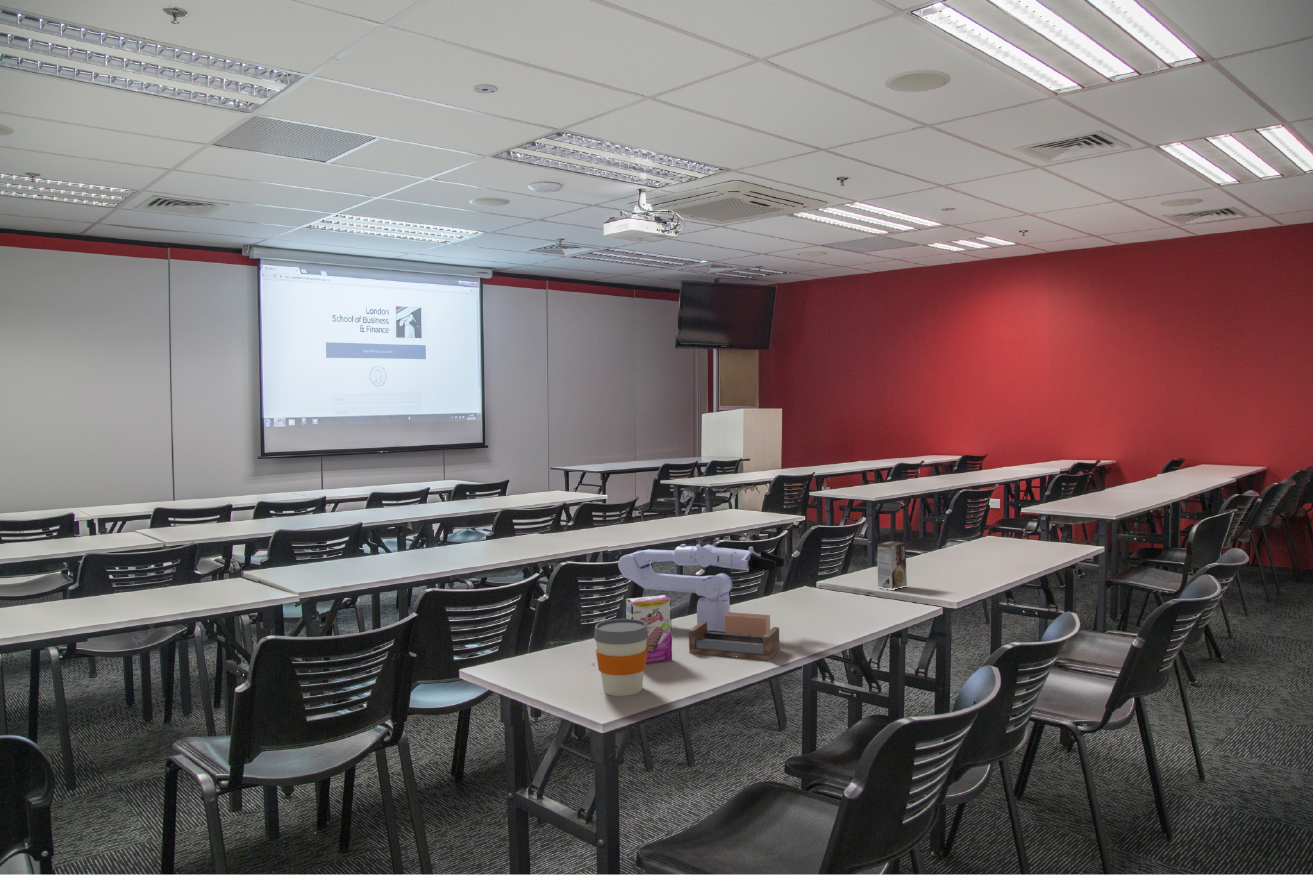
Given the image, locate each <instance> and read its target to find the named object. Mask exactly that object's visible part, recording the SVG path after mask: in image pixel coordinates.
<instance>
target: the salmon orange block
mask: <svg viewBox="0 0 1313 875" xmlns="http://www.w3.org/2000/svg"><path fill="white" fill-rule="evenodd" d="M770 630H771V615H770V614H759V613H745V612H732V611H730V612H729V613H727V614H726V615H725V632H724V633H731V634H743V635H754V636H764V635H765V634H767V633H768V632H769V631H770Z"/></svg>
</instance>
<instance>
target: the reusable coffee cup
mask: <svg viewBox="0 0 1313 875" xmlns="http://www.w3.org/2000/svg"><path fill="white" fill-rule="evenodd" d="M593 638H594V641H595V642H596V644H595V645H596V649H595V654H596V655H595V656H596V661H597V662H596V663H597V666H598V667H597V668H598V671H599V672H600V675H601V682H602V688H603V692H604V693H605V694H607V695H609V696H615V697H628V696H632V695H633V696H634V695H636V694H639V693H640V692H642V691H643V690H642V689H643V683H644V682H643V681H644V672H645V670H646V668H647V664H646V661H647V650H648V648H647V647H646V642H647V638H648V630H647V624H646V622H644V621H641V620H636V619H626V618H614V619H607V620H602V621H601V622H597V623H596V624H595V626H594V636H593Z"/></svg>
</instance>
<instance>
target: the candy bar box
mask: <svg viewBox="0 0 1313 875" xmlns="http://www.w3.org/2000/svg"><path fill="white" fill-rule="evenodd" d="M625 619H636V620H641V621H644V622H646V624H647V630H648V638H647V642H646V647H647V648H648V650H647V661H646V665H647V664H654V663H655V664H656V663H660V662H661V663H663V662H669V661H672V660H673V638H672V636H673V634H672V633H673V632H672V631H673V630H672V598H671V597H669V596H667V595H666V594H663V595H662V594H661V595H653V596H651V595H650V596H642V597H641V596H640V597H632V598H630V597H629V598H626V599H625Z"/></svg>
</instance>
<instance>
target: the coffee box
mask: <svg viewBox="0 0 1313 875" xmlns="http://www.w3.org/2000/svg"><path fill="white" fill-rule="evenodd" d="M906 551H907V550H906V542H901V541H894V540H891V541H885V542H880V543H876V559H877V562H876V563H877V565H876V567H877V587H878V586H879V587H883V588H892V589H893V588H899V587H902V586H906V585H907V586H908V584H907V583H908V580H907V555H906Z"/></svg>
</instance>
